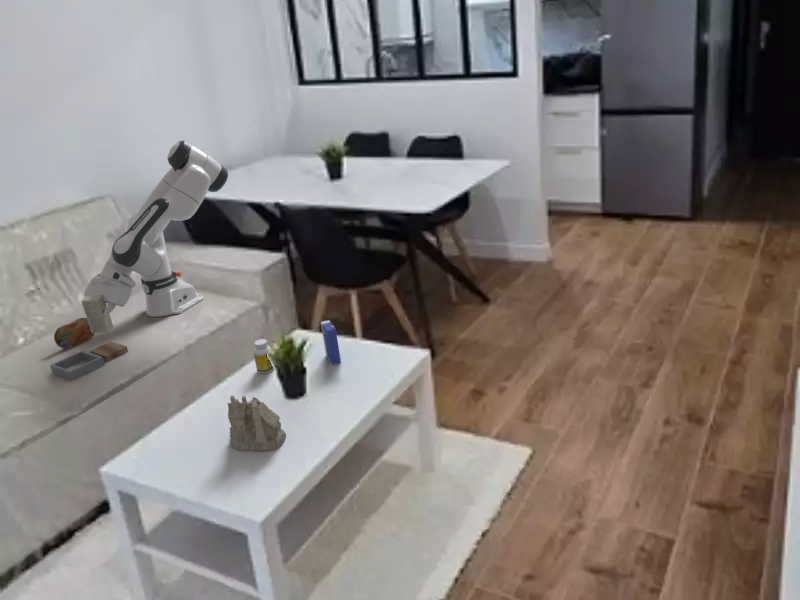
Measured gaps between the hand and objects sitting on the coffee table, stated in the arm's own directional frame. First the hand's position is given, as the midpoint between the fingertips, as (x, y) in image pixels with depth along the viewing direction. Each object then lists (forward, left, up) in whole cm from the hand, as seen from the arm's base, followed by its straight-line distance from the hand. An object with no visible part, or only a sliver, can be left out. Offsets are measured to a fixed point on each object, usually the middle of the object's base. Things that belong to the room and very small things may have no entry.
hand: (97, 313), depth 250 cm
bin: (+12, 0, -15) cm, 19 cm away
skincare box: (0, 0, -6) cm, 6 cm away
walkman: (-31, +76, -16) cm, 83 cm away
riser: (0, 0, -15) cm, 15 cm away
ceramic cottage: (+11, +87, -16) cm, 89 cm away
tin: (0, -20, -16) cm, 26 cm away
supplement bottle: (-16, +61, -16) cm, 65 cm away
